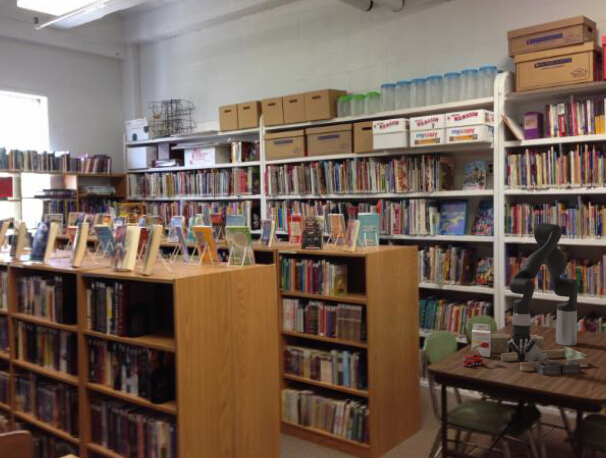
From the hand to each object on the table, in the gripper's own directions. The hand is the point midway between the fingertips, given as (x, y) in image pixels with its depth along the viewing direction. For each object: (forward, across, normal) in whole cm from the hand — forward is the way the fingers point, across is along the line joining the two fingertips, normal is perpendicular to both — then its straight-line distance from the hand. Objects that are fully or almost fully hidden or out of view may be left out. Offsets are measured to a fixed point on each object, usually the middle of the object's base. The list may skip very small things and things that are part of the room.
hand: (520, 361), depth 263 cm
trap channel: (+2, -11, +3) cm, 12 cm away
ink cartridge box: (+2, +9, -20) cm, 22 cm away
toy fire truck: (+2, +19, -6) cm, 20 cm away
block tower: (+2, -8, -24) cm, 25 cm away
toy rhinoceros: (+2, -7, 0) cm, 7 cm away
